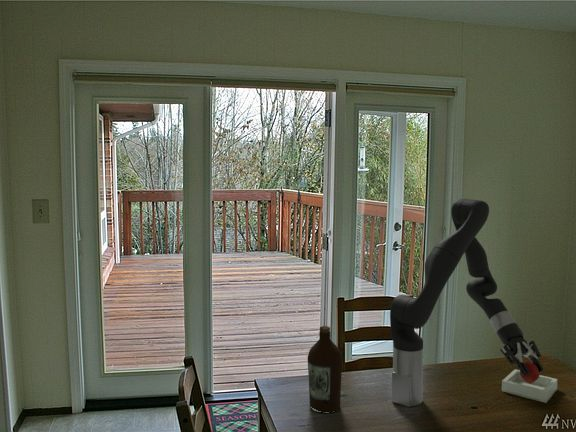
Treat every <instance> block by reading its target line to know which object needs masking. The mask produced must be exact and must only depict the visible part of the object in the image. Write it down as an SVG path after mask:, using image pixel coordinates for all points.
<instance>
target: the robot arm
mask: <svg viewBox="0 0 576 432" xmlns="http://www.w3.org/2000/svg"><path fill="white" fill-rule="evenodd" d="M450 213H451V219H452V222H453V225H454V229H455V230H456V231H454V232H453V233H451V234H449V235H447V236H446V237H444V238H443V239H441V240H439V242H437V243H436V244H435V245H434V247H433V248H432V249H431V251H430V253H429V254H428V256H427V258H426V259H425V262H424V284H423V287H422V289H421V290H420V293H419V294H418V295H417V297H413V296H410V295H405V294H399V295H397V296H395V297H394V299H392V301H391V304H390V308H389V324H390V325H389V326H390V338H391V340H392V346H393V347H392V348H393V349H392V373H391V402H392V403H395V404H398V405H402V406H404V407H407V408H411V407H416V406H419V405H421V404H422V403H423V398H424V397H423V391H424V390H423V388H424V387H423V385H424V383H423V381H424V379H423V376H424V373H423V372H424V339H423V338H422V337H421V336H420V335H419V334H418V333H417V332H416V331H415V330H416V329H417V330H418V329H421V328H423V327H424V326H425V325H426V323H427V322H428V320H429V319H430V317H431V315H432V313H433V311H434V308H435V306H436V304H437V301H438V300H439V297H440V295H441V293H442V292H443V290H444V288H445V286H446V284H447V282H448V281H449V279H450V278H451V276H452V274H453V272H455V270H456V268H457V266H458V264H459V263H460V261H461V259H462V257H463V256H464V255H465V260H466V265H467V266H466V267H467V271H468V274H469V276H471V277H472V278H475V279H473V280H471V281H468V282H467V284H466V288H465V290H466V293H467V295H468V296H469V298H470V299H472V300H473V301H474V302H475V303H476V304H477V305H478V306H479V307H480V308H481V310H483V311H484V313H485V316H487V318H488V320H489V322H490V324H491V326H492V328H493V329H494V331H495V333H496V335H497V336H498V338H499V340H500V341H501V342H502V344H503V345H504V346H502V347H501V348H500V352H501V353H502V354H503V356H504V357H505V358H506V360H507V361H508V362H509V364H510V365H515V366H517V367H518V370H520V371H521V372H522V374H523V375H524V376H526V375H528V374H529V373H530V372H529V370H528V369H527V367H526V365H525V364H524V363H525V362H523V357H524V358H526V359H528V361H529V360H531V361H532V363H533V364H534V365H536V367H537V368H538V370H539V374H541V373H542V372H543V371H544V367H543V365H542V364H541V362H540V361H539V359H540V358H541V356H542V355H541V352H540V350H539V349H538V347H537V344H536V342H535V341H534V340H530V341H527V340H526V339H525V338H524V333H523V331H522V330H521V328H520V326H519V324H518V323H517V322H516V320H515V318H514V317H513V315H512V314H511V313H510V312H509V311H508V309H507V307H506V306H505V304H504V302H503V301H502V300H501V299H500V298H487V297H489V296H493V295H494V294H496V292H497V290H498V285H497V282H496V280H495V279H494V277H493V275H492V272H491V271H490V268H489V262H488V256H487V253H486V250H485V248H484V247H483V245H482V244H481V243H480V241H479V240H478V239H477V237H476V236H477V235H478V234H479V232H480V231H481V229H482V228H483V227H484V225H485V223H486V222H487V220H488V218H489V215H490V207H489V204H488V203H487V202H486V201H484V200H479V199H470V198H458V199H456V200H455V201H454V202H453V203H452V205H451V209H450ZM522 356H523V357H522Z"/></svg>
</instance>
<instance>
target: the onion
mask: <svg viewBox="0 0 576 432" xmlns="http://www.w3.org/2000/svg"><path fill="white" fill-rule="evenodd" d="M524 364H525V365H526V367H527V369H528V370H529V372H530V373H529V374H528V375H526V376H524V375H523V374H522V372H521V371H520V375H521V377H522V378H523V379H524V380H525V381H526V382H527V383H528V384H531V383H533V382H534V381H536V380H537V379H538V378H539V375H540V373H539V370H538V368H537V367H536V365H534V364H533V363H532V361H531V360H529V359H528V361H527V362H524Z"/></svg>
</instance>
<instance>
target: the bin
mask: <svg viewBox="0 0 576 432" xmlns="http://www.w3.org/2000/svg"><path fill="white" fill-rule="evenodd" d="M556 391H558V378H553V377H550V376H546V375H541V374H539V378H538V379H537V380H536V381H534V382H533V383H531V384H528V383H527V382H526V381H525V380H524V379H523V378H522V377H521V375H520V369H516V368H515V369H513V370H512V371H511V372H510V373H509V374H508V375H507V376H505V378H503V379H502V380H501V392H504V393H506V394H511V395H514V396H519V397H522V398H526V399H528V400H529V399H530V400H533V401H536V402H537V401H538V402H541V403H544V404H547V403H548V402H549V400H550V399H551V398H552V397H553V396H554V394H555V393H556Z"/></svg>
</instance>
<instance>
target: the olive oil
mask: <svg viewBox="0 0 576 432" xmlns="http://www.w3.org/2000/svg"><path fill="white" fill-rule="evenodd" d="M318 335H319V339H318V340H317V341H316V342H315V343H314V345H312V346H311V348H310V349H309V350H308V354H307V369H308V370H307V371H308V372H307V374H308V391H309V392H308V393H309V395H308V396H309V407H310V406H311V407H312V408H314V409H316V410H318V411H321V412H333V411H336V410H338V409H339V408H340V409H341V395H342V392H341V390H342V373H343V372H342V371H343V356H342V351H341V350H340V348H339V347H338V346H337V345H336V344H335V343H334V342H333V341H332V339H331V327H330V326H328V325H327V326H326V325H322V326H320V327H319V333H318ZM340 409H339V410H340ZM339 410H338V411H339ZM336 412H337V411H336ZM333 413H334V412H333Z"/></svg>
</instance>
